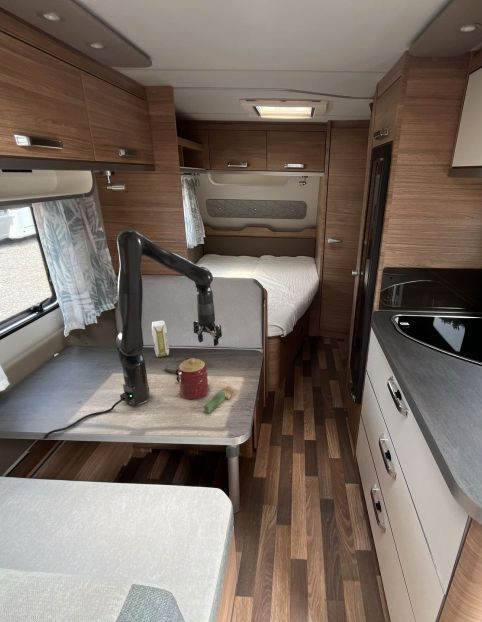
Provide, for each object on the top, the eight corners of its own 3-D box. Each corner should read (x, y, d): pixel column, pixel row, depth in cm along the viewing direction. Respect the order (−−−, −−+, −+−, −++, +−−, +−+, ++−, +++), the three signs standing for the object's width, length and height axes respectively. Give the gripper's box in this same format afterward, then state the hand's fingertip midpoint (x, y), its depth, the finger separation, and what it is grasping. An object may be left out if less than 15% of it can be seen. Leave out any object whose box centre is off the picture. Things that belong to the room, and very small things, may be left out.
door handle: (156, 372, 168) (182, 377, 162) (182, 355, 185) (206, 359, 179) (157, 378, 169) (183, 383, 163) (183, 360, 186) (207, 364, 180)
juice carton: (168, 349, 196) (164, 319, 190) (170, 355, 189) (166, 325, 182) (154, 351, 194) (150, 321, 187) (155, 358, 186) (151, 327, 179)
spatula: (211, 414, 142) (211, 408, 140) (201, 411, 144) (200, 404, 143) (237, 391, 158) (236, 385, 156) (227, 388, 160) (227, 382, 159)
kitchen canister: (212, 395, 155) (209, 361, 148) (183, 402, 149) (179, 368, 143) (204, 381, 165) (201, 349, 159) (177, 388, 160) (173, 355, 153)
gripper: (187, 311, 151) (191, 343, 157) (213, 316, 146) (216, 350, 151) (198, 306, 157) (201, 337, 163) (223, 311, 152) (225, 343, 158)
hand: (208, 343), depth 157 cm, fingers open, 8 cm apart
